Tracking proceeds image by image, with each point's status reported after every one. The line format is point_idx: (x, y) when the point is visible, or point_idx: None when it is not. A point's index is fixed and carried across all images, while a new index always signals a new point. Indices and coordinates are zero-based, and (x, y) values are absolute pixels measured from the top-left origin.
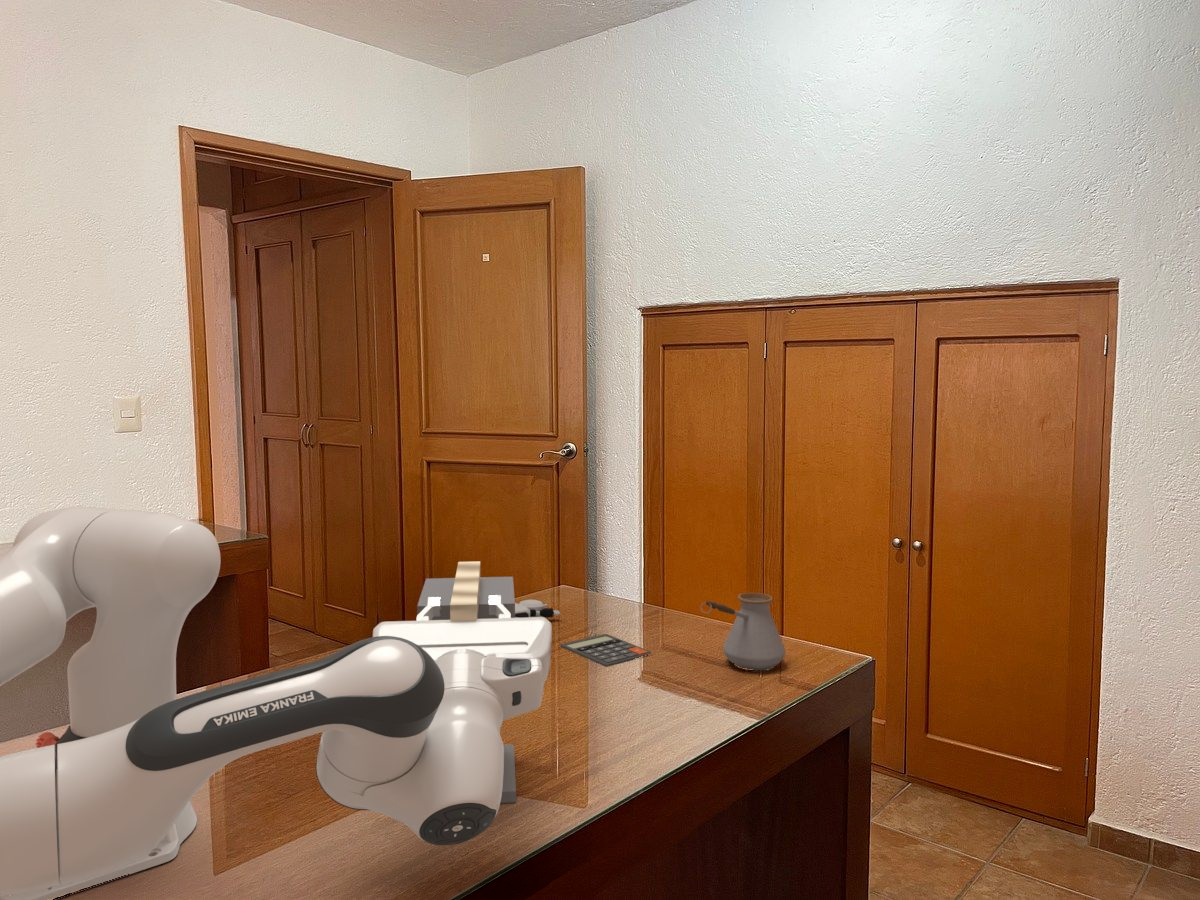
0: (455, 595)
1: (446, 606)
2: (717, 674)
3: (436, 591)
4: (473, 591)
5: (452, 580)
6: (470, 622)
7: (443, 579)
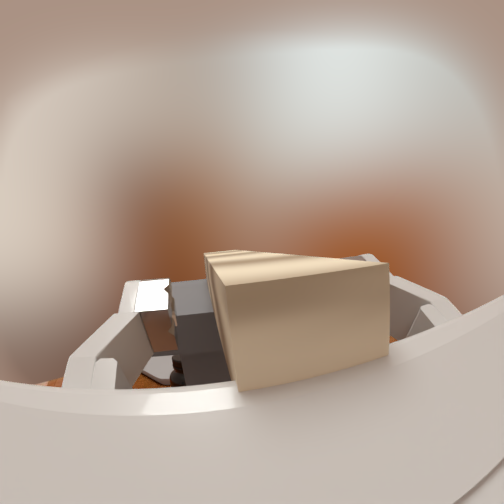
0: (226, 265)
1: (194, 316)
2: (391, 341)
3: (172, 294)
4: (278, 256)
5: (197, 281)
6: (369, 378)
7: (184, 282)
